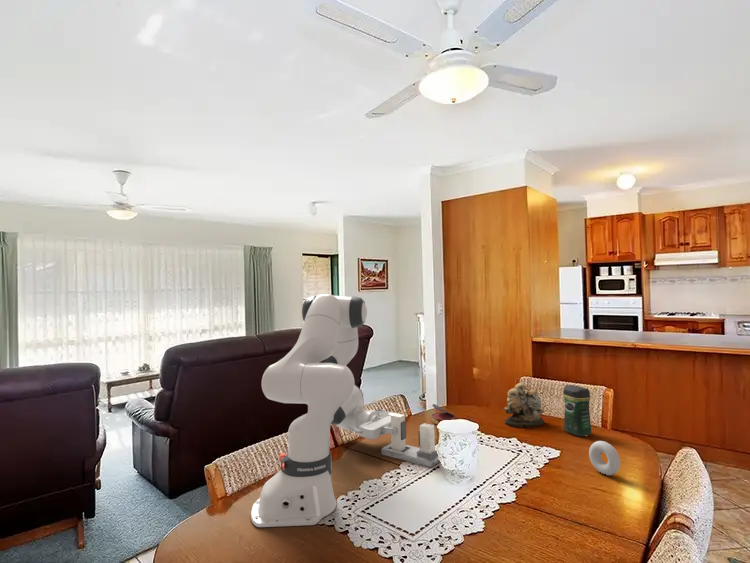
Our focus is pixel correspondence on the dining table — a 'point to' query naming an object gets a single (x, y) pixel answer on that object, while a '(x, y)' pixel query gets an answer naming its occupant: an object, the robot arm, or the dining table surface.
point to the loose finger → (399, 437)
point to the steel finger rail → (418, 449)
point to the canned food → (441, 415)
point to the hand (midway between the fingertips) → (400, 429)
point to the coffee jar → (577, 410)
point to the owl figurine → (523, 407)
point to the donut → (611, 455)
